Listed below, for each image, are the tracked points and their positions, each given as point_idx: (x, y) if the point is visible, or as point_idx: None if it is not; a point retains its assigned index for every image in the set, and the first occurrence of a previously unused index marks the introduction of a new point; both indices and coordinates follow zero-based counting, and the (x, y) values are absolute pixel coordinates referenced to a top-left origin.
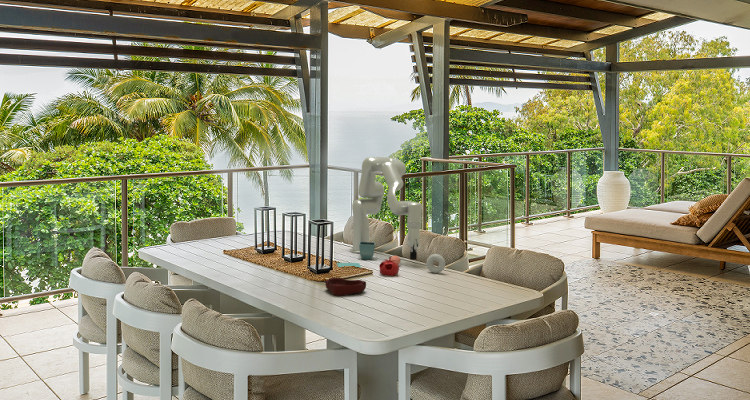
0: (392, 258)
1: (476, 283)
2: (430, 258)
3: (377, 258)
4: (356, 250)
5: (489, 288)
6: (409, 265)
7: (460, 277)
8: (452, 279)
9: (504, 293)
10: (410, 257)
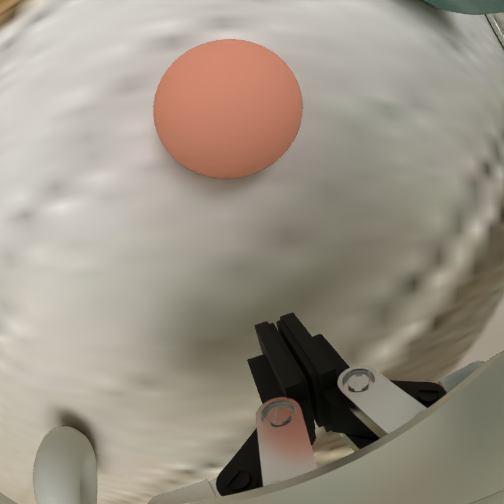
0: (177, 60)
1: None
2: (34, 488)
3: (450, 40)
4: None
5: (15, 486)
6: (287, 272)
7: None
8: (24, 458)
9: (5, 487)
10: (290, 326)
